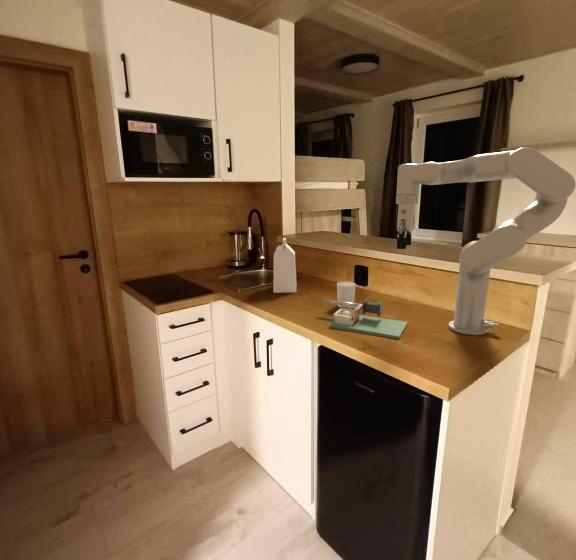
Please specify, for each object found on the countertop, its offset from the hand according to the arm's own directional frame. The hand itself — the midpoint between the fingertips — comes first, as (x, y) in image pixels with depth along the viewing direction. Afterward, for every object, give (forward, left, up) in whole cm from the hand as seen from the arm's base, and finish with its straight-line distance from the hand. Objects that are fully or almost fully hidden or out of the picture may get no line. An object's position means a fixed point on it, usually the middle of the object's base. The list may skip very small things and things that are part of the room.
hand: (403, 246), depth 133 cm
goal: (+18, +13, -28) cm, 36 cm away
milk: (+61, -19, -29) cm, 70 cm away
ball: (+17, +13, -26) cm, 33 cm away
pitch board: (+9, +13, -28) cm, 32 cm away
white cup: (+24, -6, -28) cm, 38 cm away
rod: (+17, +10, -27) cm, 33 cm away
